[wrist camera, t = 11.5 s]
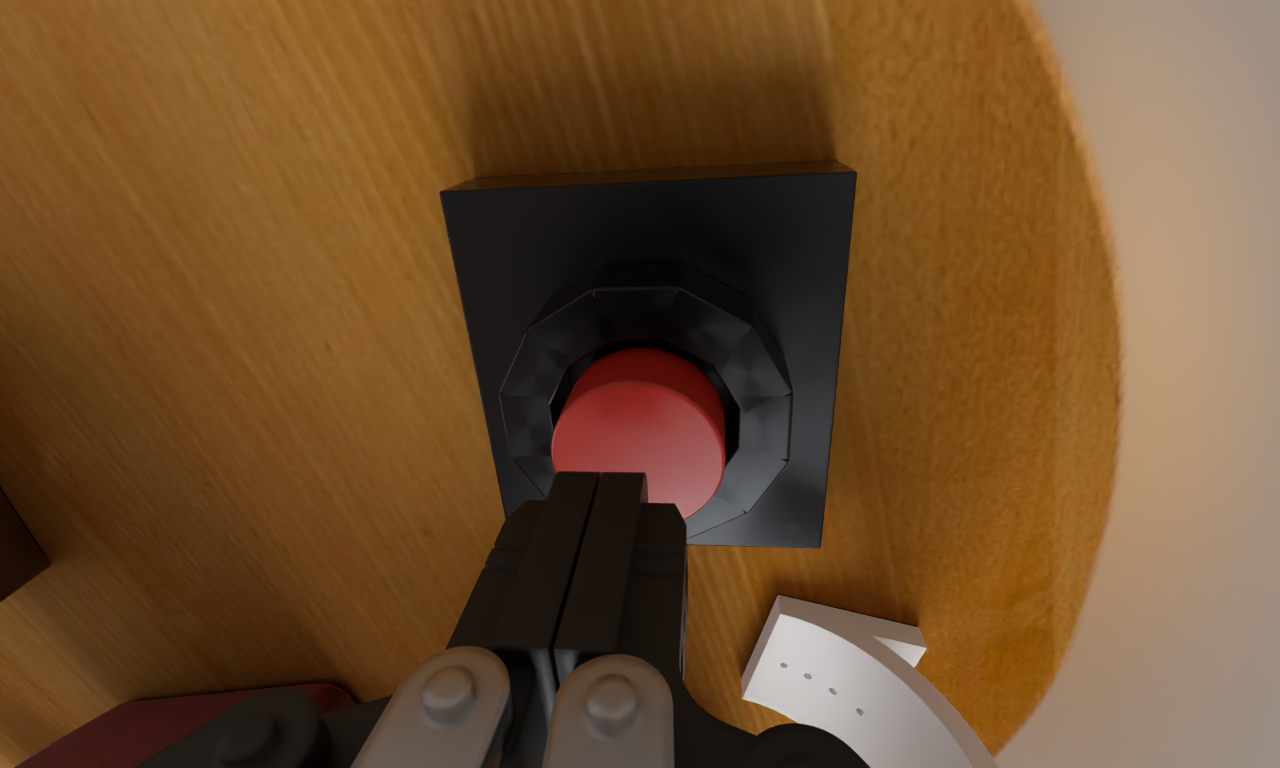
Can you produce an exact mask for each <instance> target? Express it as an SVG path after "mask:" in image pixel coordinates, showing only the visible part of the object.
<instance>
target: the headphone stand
mask: <svg viewBox="0 0 1280 768" xmlns="http://www.w3.org/2000/svg"><path fill="white" fill-rule="evenodd" d="M926 649H927V647H926V644H925V641H924V639H923V636H922V634H921V631H920V628H918V627H914V626H910V625H906V624H901V623H897V622H893V621H888V620H884V619H880V618H876V617H871V616H867V615H863V614H859V613H854V612H850V611H846V610H841V609H837V608H833V607H829V606H824V605H820V604H816V603H811V602H807V601H803V600H799V599H794V598H790V597H786V596H782V595H778V596H777V598H776V600H775V603H774V605H773V607H772V609H771V612H770V614H769V616H768V619H767V621H766V623H765V625H764V628H763V630H762V632H761V635H760V637H759V639H758V641H757V644H756V646H755V648H754V651H753V653H752V655H751V657H750V660H749V662H748V664H747V667H746V669H745V671H744V673H743V676H742V678H741V687H742V699H744V700H747V701H751V702H754V703H758V704H760V705H763V706H765V707H768V708H770V709H773V710H775V711H777V712H779V713H781V714H783V715H785V716H787V717H789V718H791V719H792V720H794V721H796V722H797V723H799V724H806V725H811V726H814V727H817V728H820V729H823V730H825V731H827V732H829V733H831V734H833V735H835V736H836V737H838V738H839V739H841V740H842V741H844V742H845V743H846V744H847V745H848V746H850V747H851V748H852V749H853V750H854V751H855V752H856V753H857V754H858V755H859V756H860V757H861V758H862V759H863V760H864V761H865V762H866V763H867V764H868V765H869V767H870V768H999V766H998V765H997V763H996V762H995V760H994V758H993V757H992V755H991V754H990V752H989V751H988V750H987V748H986V747H985V746H984V744H983V743H982V741H981V740H980V739H979V737H978V736H977V734H976V733H975V732H974V731H973V729H972V728H971V727H970V726H969V724H968V723H967V722H966V721H965V719H964V718H963V717H962V716H961V715H960V713H959V712H958V711H957V710H956V709H955V708H954V707H953V706H952V704H951V703H950V702H949V701H948V700H947V699H946V698H945V697H944V696H943V695H942V694H941V693H940V692H939V691H938V690H937V689H936V688H935V687H934V686H933V685H932V684H931V683H930V682H929V681H928V680H927V679H926V678H925V677H924V676H923V675H922V674H921V673H919V672H918V671H917V670H916V669H915V666H916V664H917V663H918V661H919V660H920V658H921V657H922V655H923V654H924V652H925V650H926Z"/></svg>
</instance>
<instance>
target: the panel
mask: <svg viewBox="0 0 1280 768" xmlns="http://www.w3.org/2000/svg"><path fill="white" fill-rule="evenodd" d="M49 566H50V564H49V563H48V561H47V560H46V558H45V557H44V555H43V554H42V552H41V551H40V549H39V548H38V546H37V545H36V543H35V542H34V540H33V539H32V537H31V536H30V534H29V533H28V531H27V530H26V528H25V527H24V525H23V524H22V522H21V521H20V519H19V518H18V516H17V515H16V513H15V512H14V510H13V509H12V507H11V506H10V504H9V503H8V501H7V499H6V498H5V496H4V495H3V493H2V492H1V490H0V602H1V601H3V600H4V599H5V598H7V597H8V596H10V595H11V594H12V593H14V592H15V591H16V590H18V589H19V588H21V587H22V586H23V585H25V584H26V583H27V582H29V581H30V580H32V579H33V578H34V577H36V576H37V575H38V574H40V573H41V572H43V571H44V570H45V569H47V568H48V567H49Z"/></svg>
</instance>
